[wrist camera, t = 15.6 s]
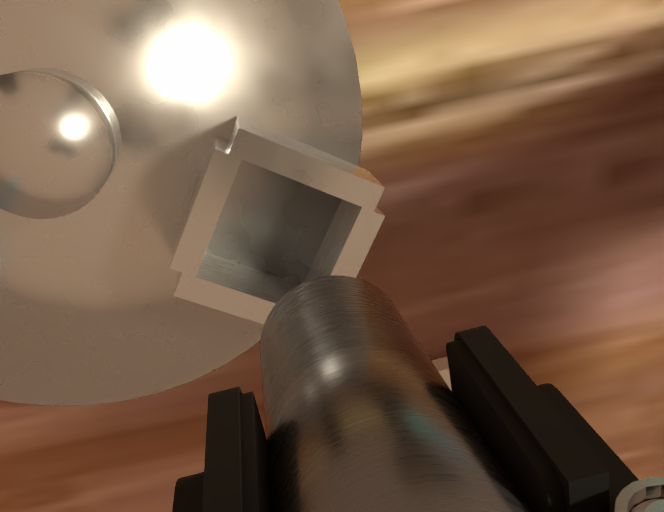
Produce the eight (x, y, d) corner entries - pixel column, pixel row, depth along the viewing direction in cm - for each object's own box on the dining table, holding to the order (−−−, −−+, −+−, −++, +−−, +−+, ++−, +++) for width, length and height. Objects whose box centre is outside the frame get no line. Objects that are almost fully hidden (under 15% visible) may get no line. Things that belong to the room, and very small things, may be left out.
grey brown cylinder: (385, 256, 15) (652, 593, 5) (417, 384, 16) (685, 854, 6) (241, 300, 14) (240, 735, 5) (284, 426, 16) (350, 981, 6)
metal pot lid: (-229, -398, 18) (-381, -541, 14) (454, -25, 25) (505, -37, 21) (-325, 289, 25) (-451, 350, 20) (243, 435, 32) (247, 506, 27)
